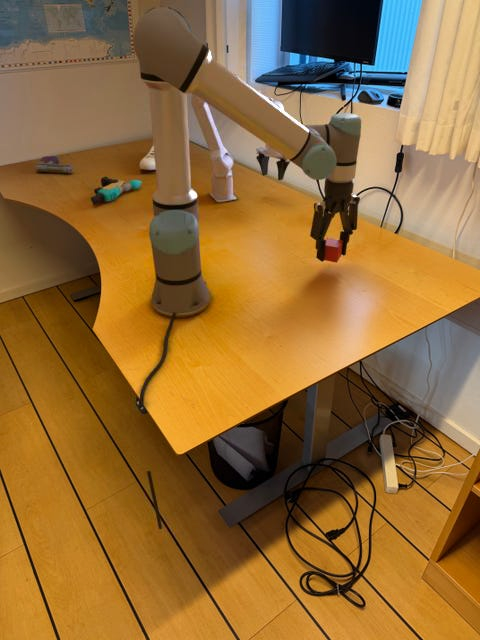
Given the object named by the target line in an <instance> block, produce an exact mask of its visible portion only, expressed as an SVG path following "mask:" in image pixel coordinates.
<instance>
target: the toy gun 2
mask: <svg viewBox="0 0 480 640" xmlns="http://www.w3.org/2000/svg"><path fill="white" fill-rule="evenodd" d="M100 184H101V187H100V186H98V187H96V188H94V189H93V192H94V194H95V195H93V196H91V197H90V200H91V203H92V205H93V206H95V205H96V204H99V203H100V202H103V201H104V202H106V203H107V202H112V201H113V200H115V199H117V198H118V197H119V196H120V195H121V194H122V193H126V192H128V191H130V190H132V191H136V190H139V188H140V187H141V186H142V184H143V183H142V181H141V180H138V179H132V180H131V179H130V181H129V182H125V181H124V180H121V179H112V178H109V177H108V176H103V177H101V179H100Z"/></svg>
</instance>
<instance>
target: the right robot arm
mask: <svg viewBox="0 0 480 640" xmlns="http://www.w3.org/2000/svg"><path fill="white" fill-rule="evenodd" d="M256 91H257V92H259V93H260V94H261V95H263V96H264V97H265V98H267V99H268V100H269V101H271V102H272V103H273V104H275V105H276V106H277V107H279V108H280V109H281V110H283V111H284V112H285V107H284V104H283V103H282V102H280V101H279V100H278V99H274V98H272V97H270V98H269V97H268V96H267V95H264V94H262V91H261V90H260V89H257V90H256ZM190 103H191V107H192V110H193V112H194V115H195V117H196V120H197V122H198V125H199V128H200V130H201V132H202V136H203V137H204V140H205V143H206V145H207V148H208V150H209V154H210V156H209V157H210V158H209V160H210V161H209V162H210V163H211V172H212V176H211V181H210V182H211V192H210V193H209V195H210V197H211V198H213V199H214V200H215V202H216V203H224V202H231V201H236V200H237V199H238V198H237V196H235V195H234V178H233V177H234V176H233V175H234V173H233V171H232V168H233V167H234V159H233V156H231V154H230V153H229V151H228V150H227V148H225V146H224V144H223V142H222V139H221V137H220V134H219V131H218V128H217V126H216V124H215V120H214V118H213V116H212V113H211V109H210V107H209V104H208V103H206V102H205V101H204V100H202V99H201V98H199V97H198V96H196V95H195V94H193V93H191V100H190ZM255 150H256V152H255V153H256V155H257V156H256V157H255V158H256V160H257V162H258V164H259V167H260V170H261V176H263V177H264V176H267V175H268V172H269V161H270V158H273V159H277V161H275V163H276V167H277V180H278V181H282V180H284V177H285V174H286V171H287V168H288V166H289V165H290V163H291V161H290V160H289V159H288V158H284V157H283V156H282V154H280V153H279V152H277V151H276V150H275V149H273V148H272V147H270V146H269V145H267V144H266V143H265V147H256V149H255Z"/></svg>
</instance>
